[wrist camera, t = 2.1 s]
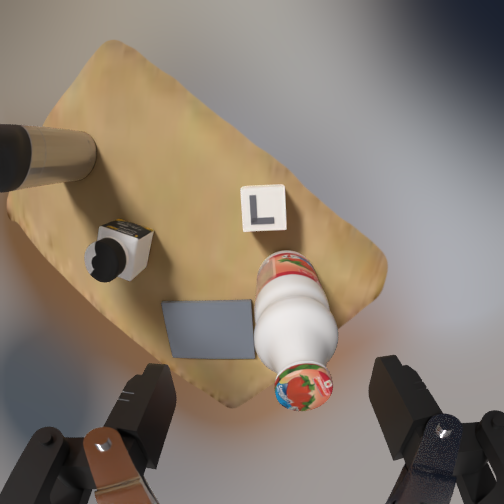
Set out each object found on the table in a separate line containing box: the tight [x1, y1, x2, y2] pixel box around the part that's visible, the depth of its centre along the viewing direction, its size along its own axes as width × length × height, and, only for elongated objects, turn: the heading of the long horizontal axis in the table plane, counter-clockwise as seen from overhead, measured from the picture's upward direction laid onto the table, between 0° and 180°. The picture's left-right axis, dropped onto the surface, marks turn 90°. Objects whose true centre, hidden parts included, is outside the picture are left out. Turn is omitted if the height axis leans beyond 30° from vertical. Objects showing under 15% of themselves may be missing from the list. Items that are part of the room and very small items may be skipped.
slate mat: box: [161, 299, 255, 359], centre depth 52 cm, size 16×12×1 cm
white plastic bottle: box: [254, 250, 338, 411], centre depth 35 cm, size 9×9×28 cm
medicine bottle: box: [85, 219, 154, 282], centre depth 43 cm, size 7×7×12 cm
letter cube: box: [240, 184, 287, 232], centre depth 43 cm, size 6×6×6 cm
